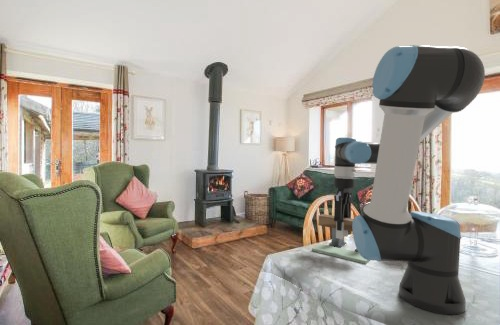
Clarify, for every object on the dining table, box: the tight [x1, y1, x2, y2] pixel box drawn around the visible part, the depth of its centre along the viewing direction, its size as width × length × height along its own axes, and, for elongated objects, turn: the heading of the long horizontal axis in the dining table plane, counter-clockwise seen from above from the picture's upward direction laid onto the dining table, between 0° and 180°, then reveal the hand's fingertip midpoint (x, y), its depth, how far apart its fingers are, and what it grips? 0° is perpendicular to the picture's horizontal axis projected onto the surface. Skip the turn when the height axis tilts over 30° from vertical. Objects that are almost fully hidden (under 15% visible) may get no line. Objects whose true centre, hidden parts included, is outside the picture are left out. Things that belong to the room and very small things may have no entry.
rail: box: [318, 213, 354, 233], centre depth 112 cm, size 4×18×4 cm, turn 52°
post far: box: [328, 228, 347, 248], centre depth 124 cm, size 7×5×12 cm
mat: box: [311, 243, 371, 265], centre depth 112 cm, size 8×21×1 cm, turn 52°
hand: (341, 237), depth 112 cm, fingers closed on rail, 4 cm apart
